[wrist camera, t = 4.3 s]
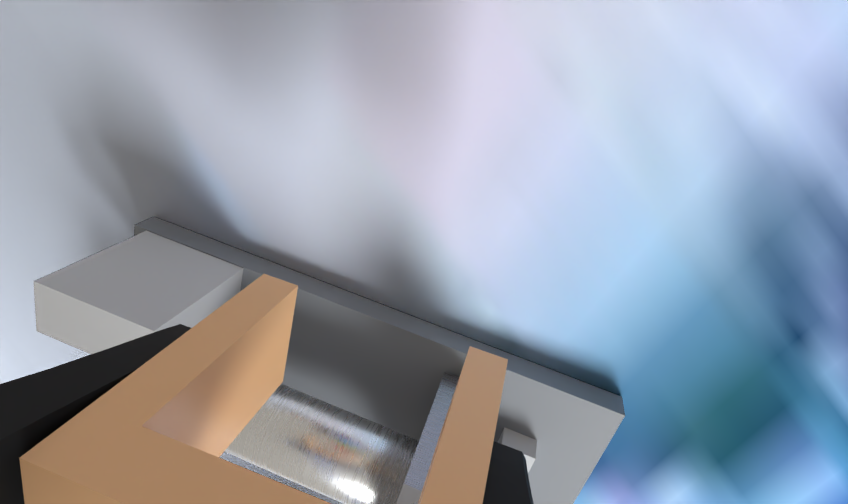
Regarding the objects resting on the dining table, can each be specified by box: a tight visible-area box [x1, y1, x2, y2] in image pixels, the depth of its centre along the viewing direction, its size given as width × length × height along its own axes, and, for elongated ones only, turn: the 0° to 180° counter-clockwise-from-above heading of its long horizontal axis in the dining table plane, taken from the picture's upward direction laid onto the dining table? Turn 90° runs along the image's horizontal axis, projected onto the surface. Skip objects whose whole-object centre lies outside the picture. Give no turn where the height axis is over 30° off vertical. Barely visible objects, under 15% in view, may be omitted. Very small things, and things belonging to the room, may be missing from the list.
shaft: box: [224, 372, 459, 504], centre depth 17 cm, size 12×5×5 cm, turn 74°
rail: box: [34, 217, 625, 504], centre depth 18 cm, size 18×7×6 cm, turn 74°
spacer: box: [19, 274, 508, 504], centre depth 9 cm, size 3×5×6 cm, turn 76°
